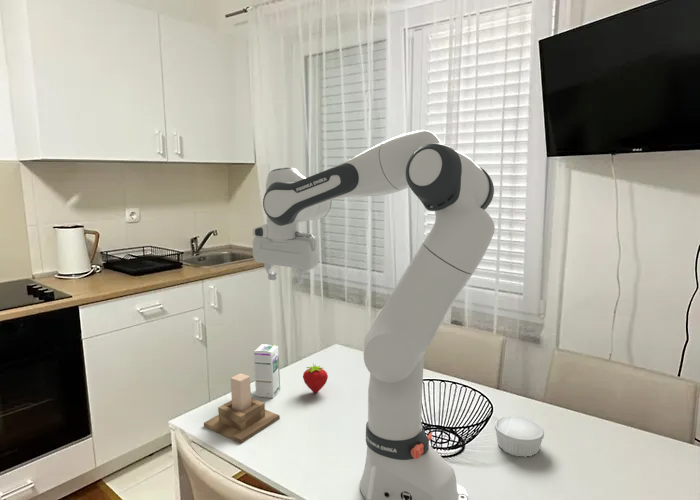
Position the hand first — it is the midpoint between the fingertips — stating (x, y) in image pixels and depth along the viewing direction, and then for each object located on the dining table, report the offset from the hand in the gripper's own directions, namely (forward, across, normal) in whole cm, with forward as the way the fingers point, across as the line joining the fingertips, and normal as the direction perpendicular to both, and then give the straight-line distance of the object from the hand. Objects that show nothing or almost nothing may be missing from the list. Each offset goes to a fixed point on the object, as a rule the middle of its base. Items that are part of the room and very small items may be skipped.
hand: (285, 281), depth 126 cm
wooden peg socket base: (+37, +6, +12) cm, 39 cm away
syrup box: (+37, +12, -4) cm, 39 cm away
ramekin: (+37, -58, -18) cm, 71 cm away
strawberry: (+37, 0, -12) cm, 39 cm away
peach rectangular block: (+36, +6, +12) cm, 38 cm away
